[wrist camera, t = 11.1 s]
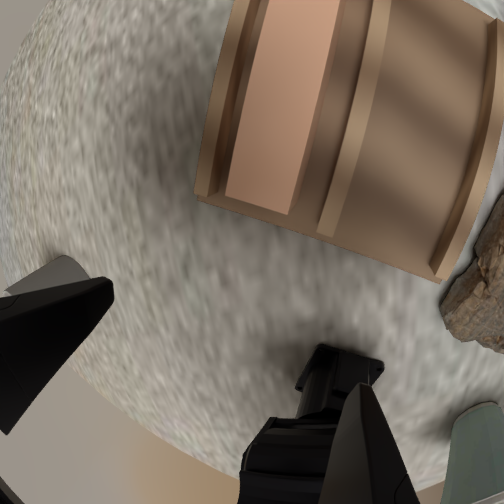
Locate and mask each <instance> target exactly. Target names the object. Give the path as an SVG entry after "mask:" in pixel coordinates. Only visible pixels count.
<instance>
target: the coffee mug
mask: <svg viewBox="0 0 504 504" xmlns="http://www.w3.org/2000/svg"><path fill="white" fill-rule="evenodd" d="M88 279H90V278H89V276H88V275H87V273H86V272H85V271H84V269H83V268H82V267H81V266H80V265H79V264H78V263H77V262H76V261H75V260H74V259H72V258H70V257H68V256H60V257H59V258H57V259H55V260H53V261H52V262H50V263H48V264H46V265H45V266H43V267H41V268H39V269H38V270H36V271H34V272H33V273H31V274H29V275H28V276H26V277H24V278H23V279H21V280H20V281H18V282H16V283H15V284H13V285H12V286H10V287H9V288H7V289H6V290H4V292H3V297H7V296H12V295H17V294H22V293H26V292H31V291H35V290H40V289H45V288H50V287H54V286H59V285H64V284H69V283H73V282H78V281H83V280H88Z"/></svg>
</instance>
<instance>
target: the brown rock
mask: <svg viewBox="0 0 504 504" xmlns="http://www.w3.org/2000/svg"><path fill="white" fill-rule="evenodd" d="M474 249H475V250H476V254H477V256H478V257H476V259H475V260H474V261H473V263H472V265H471V266H470V267H469V268H468V269H467V271H466V272H465V273H464V274H463V275H461V276H459V277H458V278H457V279H456V281H455V282H454V283H453V285H452V287H451V289H450V291H449V293H448V294H447V296H446V298H445V299H444V301H443V302H442V304H441V306H440V312H441V314H442V317H443V321H444V324H445V327H446V329H447V330H448V329H449V331H450V333H451V334H452V336H453V337H455V338H457V339H459V340H460V341H461V342H469V341H473V340H476V341H477V342H478V343H479V344H481V345H482V346H483V347H485V348H490V349H493V350H494V351H495V352H498V353H502V354H504V194H503V195H502V196H501V197H500V199H499V200H498V202H497V204H496V205H495V207H494V209H493V211H492V213H491V215H490V217H489V220H488V222H487V224H486V225H485V226H484V228H483V229H482V231H481V233H480V236H479V238H478V241H477V243H476V244H475V246H474Z"/></svg>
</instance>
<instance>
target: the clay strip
mask: <svg viewBox="0 0 504 504" xmlns="http://www.w3.org/2000/svg"><path fill="white" fill-rule="evenodd" d="M345 4H346V0H269V4H268V7H267V11H266V15H265V18H264V22H263V26H262V30H261V34H260V38H259V41H258V45H257V49H256V53H255V58H254V62H253V66H252V70H251V74H250V78H249V83H248V87H247V91H246V96H245V100H244V105H243V109H242V114H241V118H240V123H239V128H238V132H237V137H236V142H235V147H234V152H233V157H232V162H231V167H230V172H229V177H228V182H227V187H226V193H225V196H228V197H231V198H235V199H238V200H241V201H244V202H248V203H251V204H254V205H257V206H261V207H264V208H267V209H270V210H273V211H276V212H279V213H282V214H286V215H288V214H289V212H290V211H291V210H292V208H293V207H294V206H295V205H296V203H297V202H298V198H299V194H300V191H301V187H302V183H303V180H304V176H305V172H306V169H307V165H308V161H309V157H310V154H311V150H312V146H313V142H314V138H315V134H316V131H317V127H318V123H319V119H320V115H321V111H322V107H323V103H324V98H325V94H326V90H327V86H328V82H329V78H330V73H331V69H332V65H333V60H334V56H335V51H336V47H337V42H338V38H339V33H340V29H341V24H342V19H343V14H344V9H345Z"/></svg>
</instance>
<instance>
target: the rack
mask: <svg viewBox="0 0 504 504" xmlns="http://www.w3.org/2000/svg"><path fill="white" fill-rule="evenodd" d="M268 4H269V0H261V1H260V5H259V9H258V12H257V16H256V20H255V23H254V27H253V31H252V35H251V39H250V43H249V47H248V51H247V55H246V59H245V63H244V67H243V72H242V76H241V80H240V85H239V89H238V94H237V98H236V103H235V107H234V112H233V117H232V122H231V126H230V131H229V136H228V141H227V146H226V151H225V157H224V162H223V167H222V173H221V178H220V184H219V189H218V192H217V193H215V194H213V195H211V196H209V197H204V196H201V195H198V196H197V200H198V201H201V202H205V203H208V204H211V205H214V206H218V207H221V208H224V209H227V210H230V211H234V212H237V213H240V214H243V215H246V216H249V217H252V218H256V219H259V220H262V221H265V222H268V223H271V224H274V225H277V226H280V227H283V228H286V229H289V230H292V231H295V232H298V233H301V234H304V235H307V236H310V237H313V238H316V239H318V240H321V241H324V242H327V243H330V244H333V245H336V246H339V247H341V248H344V249H347V250H350V251H353V252H355V253H358V254H361V255H364V256H366V257H369V258H372V259H375V260H377V261H380V262H383V263H385V264H388V265H391V266H393V267H396V268H399V269H401V270H404V271H407V272H409V273H412V274H414V275H417V276H420V277H422V278H425V279H427V280H430V281H432V282H435V283H437V284H440V282H441V281H442V279H440V278H438V277H436V276H434V274H433V272H432V270H431V268H430V266H429V264H430V262H431V260H432V258H433V256H434V253H435V251H436V249H437V247H438V245H439V242H440V240H441V238H442V235H443V233H444V231H445V228H446V226H447V223H448V221H449V218H450V216H451V213H452V211H453V208H454V205H455V202H456V200H457V197H458V194H459V191H460V188H461V185H462V182H463V179H464V176H465V172H466V169H467V166H468V162H469V159H470V155H471V151H472V147H473V143H474V139H475V135H476V130H477V126H478V121H479V116H480V110H481V105H482V98H483V91H484V84H485V75H486V64H487V47H488V24H489V23H491V22H492V21H493V20H495V19H493V18H492V17H490V16H489V15H487V14H485V13H484V12H482V11H480V10H479V9H477V8H475V7H473V6H472V5H470V4H468V3H466V2H464V1H462V0H391V7H390V14H389V21H388V28H387V34H386V39H385V45H384V51H383V56H382V61H381V66H380V71H379V76H378V80H377V85H376V89H375V94H374V98H373V102H372V106H371V111H370V115H369V119H368V122H367V126H366V130H365V134H364V138H363V141H362V145H361V149H360V152H359V156H358V159H357V163H356V166H355V169H354V173H353V176H352V179H351V183H350V186H349V189H348V192H347V196H346V199H345V202H344V205H343V208H342V211H341V214H340V217H339V220H338V223H337V226H336V229H335V232H334V235H333V237H329V236H326V235H323V234H320V233H317V232H316V231H317V228H318V224H319V221H320V218H321V215H322V212H323V209H324V205H325V202H326V199H327V196H328V192H329V189H330V186H331V182H332V179H333V175H334V172H335V168H336V165H337V161H338V158H339V154H340V150H341V147H342V143H343V139H344V136H345V132H346V128H347V124H348V120H349V116H350V112H351V108H352V104H353V100H354V96H355V91H356V87H357V83H358V78H359V74H360V69H361V65H362V60H363V55H364V50H365V45H366V40H367V35H368V30H369V24H370V18H371V13H372V6H373V0H346V4H345V9H344V14H343V19H342V24H341V29H340V33H339V38H338V42H337V47H336V51H335V56H334V60H333V65H332V69H331V73H330V78H329V82H328V86H327V90H326V94H325V98H324V103H323V107H322V111H321V115H320V119H319V123H318V127H317V131H316V134H315V138H314V142H313V146H312V150H311V154H310V157H309V161H308V165H307V169H306V172H305V176H304V180H303V183H302V187H301V191H300V194H299V198H298V202H297V203H296V205H295V206H294V207H293V208H292V210H291V211H290V212H289V214H288V215H286V214H282V213H279V212H276V211H273V210H270V209H267V208H264V207H261V206H257V205H254V204H251V203H248V202H244V201H241V200H238V199H235V198H231V197H228V196H225V193H226V187H227V182H228V177H229V172H230V167H231V162H232V157H233V152H234V147H235V142H236V137H237V132H238V128H239V123H240V118H241V114H242V109H243V105H244V100H245V96H246V91H247V87H248V83H249V78H250V74H251V70H252V66H253V62H254V58H255V53H256V49H257V45H258V41H259V38H260V34H261V30H262V26H263V22H264V18H265V15H266V11H267V7H268Z"/></svg>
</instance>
